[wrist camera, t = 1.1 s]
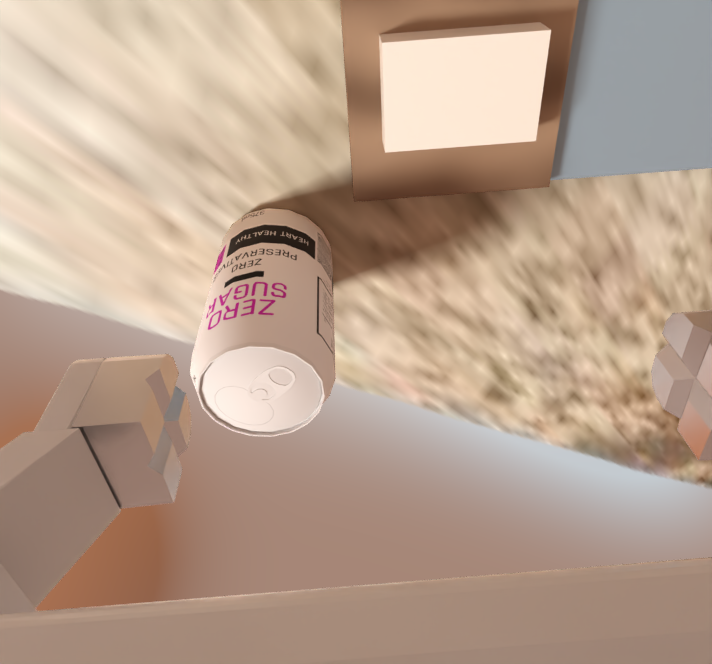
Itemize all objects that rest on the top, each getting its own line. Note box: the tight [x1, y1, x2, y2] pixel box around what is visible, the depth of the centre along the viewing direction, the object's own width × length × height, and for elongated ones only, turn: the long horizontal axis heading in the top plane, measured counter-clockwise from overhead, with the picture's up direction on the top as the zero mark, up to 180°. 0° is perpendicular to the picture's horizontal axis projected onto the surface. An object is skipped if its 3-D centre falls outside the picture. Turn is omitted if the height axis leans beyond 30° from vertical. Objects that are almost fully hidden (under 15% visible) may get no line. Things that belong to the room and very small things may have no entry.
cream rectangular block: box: [379, 22, 551, 153], centre depth 33 cm, size 6×9×2 cm, turn 93°
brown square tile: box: [340, 0, 579, 202], centre depth 35 cm, size 14×13×2 cm
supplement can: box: [190, 208, 335, 437], centre depth 38 cm, size 8×8×15 cm
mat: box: [550, 0, 712, 180], centre depth 36 cm, size 14×16×2 cm
